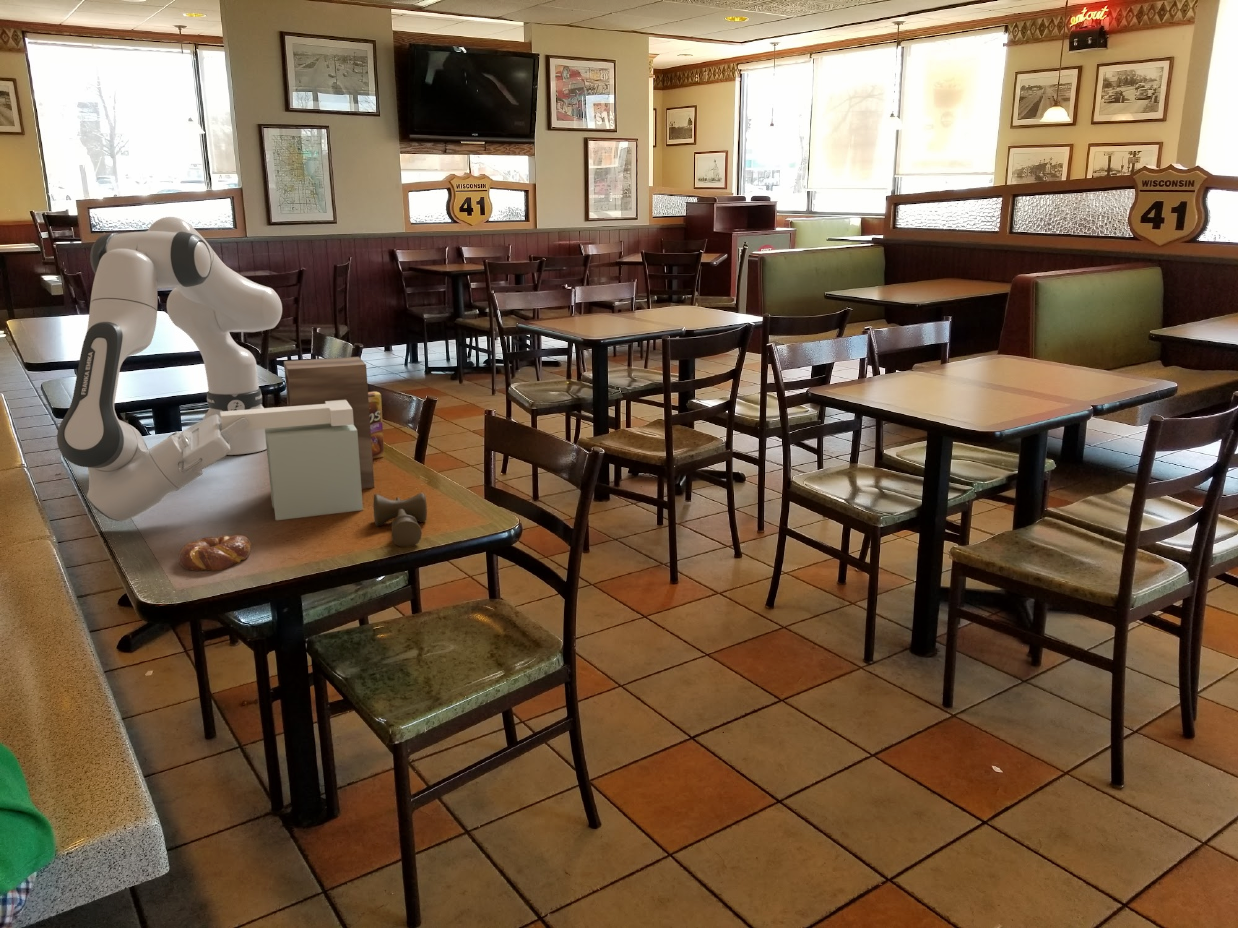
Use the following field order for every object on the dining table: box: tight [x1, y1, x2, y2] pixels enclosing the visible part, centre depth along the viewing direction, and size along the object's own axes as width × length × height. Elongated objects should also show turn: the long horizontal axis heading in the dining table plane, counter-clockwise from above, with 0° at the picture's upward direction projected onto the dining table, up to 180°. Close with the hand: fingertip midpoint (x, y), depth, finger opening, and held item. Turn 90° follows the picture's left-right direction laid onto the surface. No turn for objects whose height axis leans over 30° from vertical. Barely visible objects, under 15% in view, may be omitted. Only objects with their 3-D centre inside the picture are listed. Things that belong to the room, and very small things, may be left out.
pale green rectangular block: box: [265, 423, 364, 521], centre depth 182 cm, size 10×16×16 cm, turn 113°
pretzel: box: [178, 534, 252, 572], centre depth 158 cm, size 12×11×4 cm
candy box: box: [368, 390, 385, 459], centre depth 217 cm, size 9×4×15 cm, turn 123°
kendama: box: [372, 492, 428, 548], centre depth 173 cm, size 6×10×20 cm
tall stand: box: [283, 356, 375, 490], centre depth 195 cm, size 10×15×26 cm, turn 113°
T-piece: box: [220, 400, 354, 431], centre depth 178 cm, size 9×23×3 cm, turn 113°
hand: (245, 417), depth 175 cm, fingers closed on T-piece, 4 cm apart
